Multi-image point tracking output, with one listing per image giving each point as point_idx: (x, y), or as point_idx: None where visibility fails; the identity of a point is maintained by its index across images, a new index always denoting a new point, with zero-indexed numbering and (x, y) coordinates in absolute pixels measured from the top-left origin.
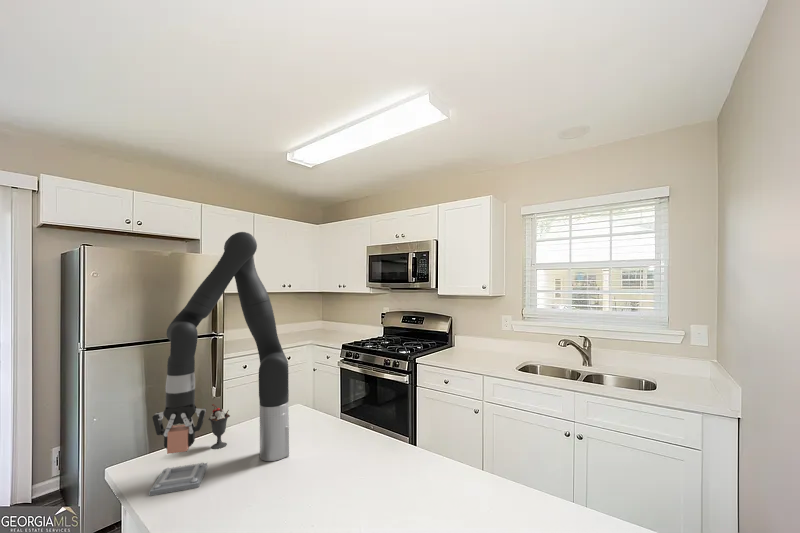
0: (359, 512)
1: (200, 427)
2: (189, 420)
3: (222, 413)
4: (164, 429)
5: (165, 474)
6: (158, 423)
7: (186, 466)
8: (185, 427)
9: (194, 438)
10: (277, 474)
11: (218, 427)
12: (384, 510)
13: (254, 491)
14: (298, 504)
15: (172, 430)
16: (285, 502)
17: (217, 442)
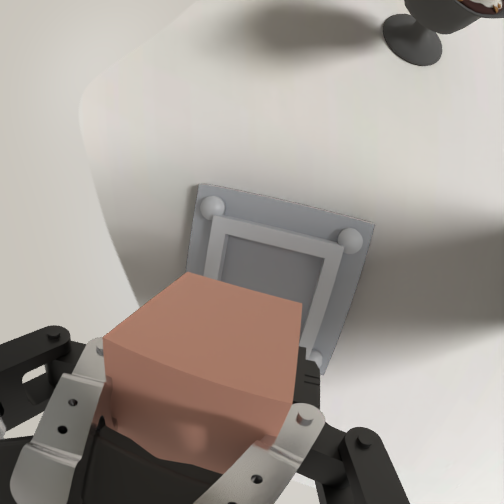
0: (477, 499)
1: (350, 490)
2: (254, 481)
3: None
4: (70, 369)
5: (208, 273)
6: (16, 424)
7: (287, 246)
8: (230, 451)
9: (317, 383)
10: (500, 391)
11: (450, 19)
12: (492, 497)
13: (429, 439)
14: (450, 482)
15: (135, 436)
16: (442, 476)
17: (413, 34)
